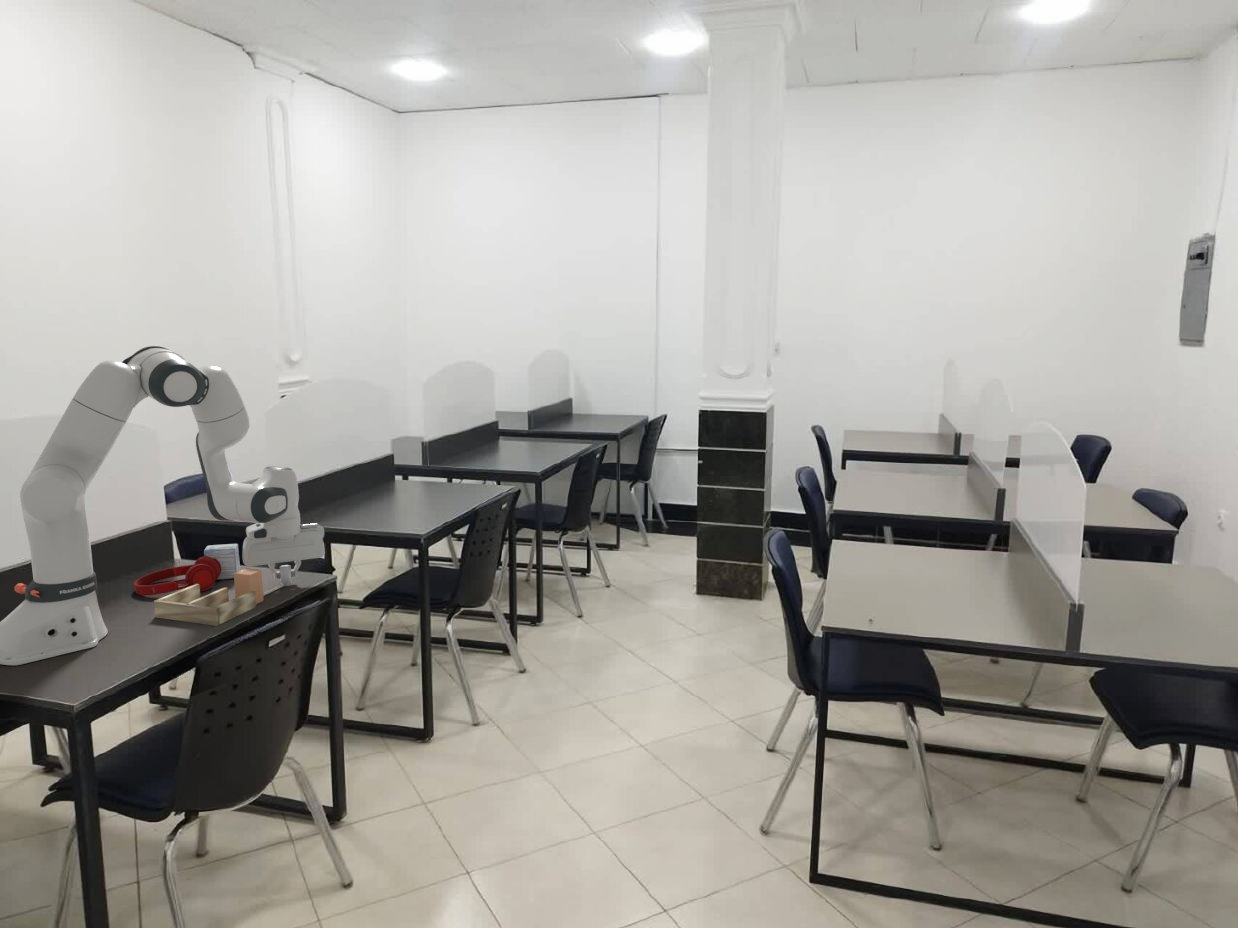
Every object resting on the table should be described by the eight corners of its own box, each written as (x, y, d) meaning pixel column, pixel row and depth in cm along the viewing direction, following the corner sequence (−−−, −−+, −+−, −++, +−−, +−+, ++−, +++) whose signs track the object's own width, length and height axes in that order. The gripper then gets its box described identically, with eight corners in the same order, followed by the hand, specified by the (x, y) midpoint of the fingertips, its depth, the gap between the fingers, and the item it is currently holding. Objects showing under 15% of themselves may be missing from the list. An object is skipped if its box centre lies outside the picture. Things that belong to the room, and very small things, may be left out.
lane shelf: (216, 625, 200) (215, 609, 200) (155, 617, 205) (153, 600, 204) (256, 606, 213) (255, 591, 212) (197, 599, 218) (196, 583, 217)
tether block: (251, 606, 213) (249, 575, 212) (235, 604, 214) (233, 573, 213) (296, 583, 231) (295, 554, 229) (282, 582, 232) (280, 553, 230)
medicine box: (240, 573, 238) (238, 543, 236) (238, 578, 234) (235, 547, 232) (209, 575, 236) (206, 545, 234) (206, 581, 232) (203, 549, 230)
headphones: (226, 575, 236) (147, 589, 232) (221, 550, 234) (141, 564, 230) (215, 592, 222) (130, 608, 218) (208, 566, 220) (123, 581, 216)
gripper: (321, 519, 235) (323, 568, 238) (239, 528, 225) (243, 579, 228) (326, 525, 230) (328, 575, 232) (242, 534, 220) (246, 586, 222)
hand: (285, 577), depth 230 cm, fingers closed on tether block, 3 cm apart
